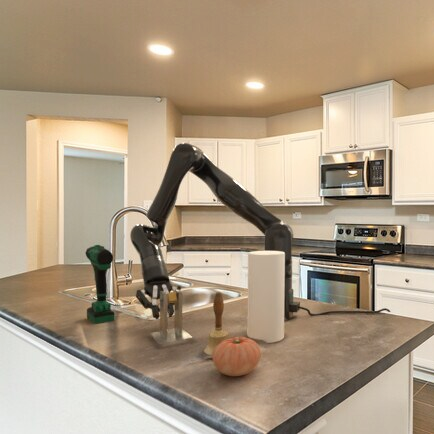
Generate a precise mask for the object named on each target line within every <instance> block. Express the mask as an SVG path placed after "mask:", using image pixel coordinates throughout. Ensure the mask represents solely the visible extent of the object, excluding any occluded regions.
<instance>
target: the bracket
mask: <svg viewBox="0 0 434 434" xmlns="http://www.w3.org/2000/svg"><path fill="white" fill-rule="evenodd" d="M175 292H176V297H177V300H176V301H175V305H174V314H173V317H174V318H173V319H174V320H173V321H174V322H173V323H174V324H173V325H174V328H172V329H168V324H169V323H168V318H169V315H168V293H166V292H165V291H160V299H159V303H160V312H159V330H158V331H153V332H150V333H149V335H150V336H151V337H152V338H153V340H155V342H156V343H157V344H158V345H163V344H169V343H174V342H179V341H185V340H191V339H193V336H191V334H189V333H188V331H186V330H184V329H183V298H184V297H183V291H181V290H178V289H176V290H175Z"/></svg>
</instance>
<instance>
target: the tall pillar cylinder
mask: <svg viewBox="0 0 434 434" xmlns="http://www.w3.org/2000/svg"><path fill="white" fill-rule="evenodd" d="M284 286H285V253H284V252H281V251H265V250H253V251H248V252H247V322H246V323H247V324H246V325H247V328H246V329H247V333H246V334H247V335H246V336H247V337H248V338H249V339H252V340H262V341H264V342H265V343H267V344H273V343H276V342H280V341H281V340H283V339H284V338H285V320H284Z"/></svg>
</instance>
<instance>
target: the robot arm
mask: <svg viewBox="0 0 434 434" xmlns="http://www.w3.org/2000/svg"><path fill="white" fill-rule="evenodd" d="M188 172H189V173H191V174H193V175H194V176H196V177H197V179H200V180H201V181H202V182H203V183H204V184H205V185H206V186H207V187H208V188H209V190H210V191H211V193H212V195H214V196H215V198H216V199H217V201H219V202H220V203H221V204H222V205H223V206H225V207H226V208H227V209H228V211H231V212H232V213H233V214H235V215H236V216H238V217H240V218H241V219H243V220H244V221H246V222H248V223H250V224H252V226H254V227H255V228H256V229H258V231H260V232H261V234H262V235H264V251H281V252H284V253H285V286H284V321H289V320H291V319H292V318H293V316H294V313H296V314H297V313H298V312H299V311H300V310H304V311H306V312H307V314H308V315H309V316H311V317H314V316H322V315H327V314H378V313H381V312H384V311H386V312H388V313H391V312H392V311H391V310H390V309H389V308H385V307H384V308H381V309H377V310H330V311H329V310H328V311H324V312H320V313H312V312H311V311H310V309H308V308H307V307H305V306H304V307H303V306H301V301H294V288H293V257H292V251H293V250H292V249H293V248H292V246H293V245H292V243H293V239H294V230H293V228H292V227H291V226H290V225H289V224H288V223H286V222H285V221H283V220H281V218H279V217H277V216H276V215H274V214H273V213H272V212H270V211H269V210H268V209H267V208H266V207H265V206H264V204H262V203H261V202H260V201H259V200H258V199H257V198H256V197H255V196H254V195H253V194H252V193H251V192H250V191H249V190H248V189H247V188H245V187H244V186H243V185H242V184H241V183H240V182H238V181H237V180H236V179H234V178H233V177H232V176H230V175H229V174H228V173H227V172H225V171H224V170H222V169H221V168H219V167H218V166H217V165H216V164H215V163H214V162H213V160H211V158H209V157H208V156H207V155H206V153H205V152H204V151H203V150H202V149H201V148H199V147H198V146H196V145H194V144H191V143H188V142H182V143H178V144H177V145H175V147H174V148H173V149H172V151H171V153H170V157H169V159H168V164H167V167H166V169H165V172H164V175H163V178H162V181H161V184H160V186H159V188H158V190H157V192H156V194H155V196H154V198H153V200H152V202H151V204H150V206H149V208H148V210H147V211H146V219H147V220H149V221H150V222H152V223H154V226H150V225H146V224H142V223H139V224H136V225H134V226H133V227H132V228H131V230H130V233H129V237H130V241H131V245H132V246H133V247H134V249H135V251H136V253H137V255H139V260H140V270H141V276H142V281H143V286H144V288H143V289H137V290H136V293H135V298H136V299H137V301H138V302H139V304H141V305H142V307H143V308H144V309H145V310H147V309H150V310H151V314H152V318H153V319H155V320H160V312H159V311H158V306H157V305H158V304H157V300H160V291H165V292H166V293H171V292H175V290H176V289H178V290H180V291H181V289H182V286H181V285H177V286H173V284H172V283H171V280H170V277H169V273H168V268H167V264H166V262H165V258H164V255H163V250H162V248H161V246H160V245H161V244H162V242H163V241H164V236H165V232H166V226H167V222H168V220H169V217H170V216H171V214H172V212H173V210H174V208H175V206H176V203H177V199H178V194H179V190H180V187H181V184H182V182H183V180H184V178H185V177H186V175H187V174H188ZM147 296H148V297H149V298H150V300H149V299H148V298H147ZM174 306H175V302H174V303H169V304H168V318H172V317H173V316H174V313H175V307H174Z"/></svg>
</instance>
